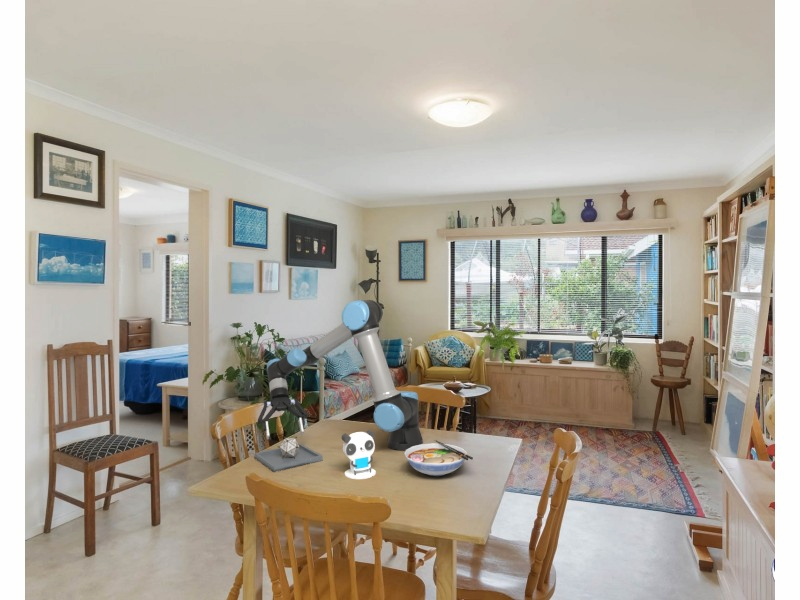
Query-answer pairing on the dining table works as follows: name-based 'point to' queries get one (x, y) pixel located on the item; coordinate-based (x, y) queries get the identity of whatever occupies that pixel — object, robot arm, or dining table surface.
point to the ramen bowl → (436, 458)
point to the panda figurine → (359, 454)
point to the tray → (287, 458)
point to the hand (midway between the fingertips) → (285, 435)
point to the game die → (289, 447)
